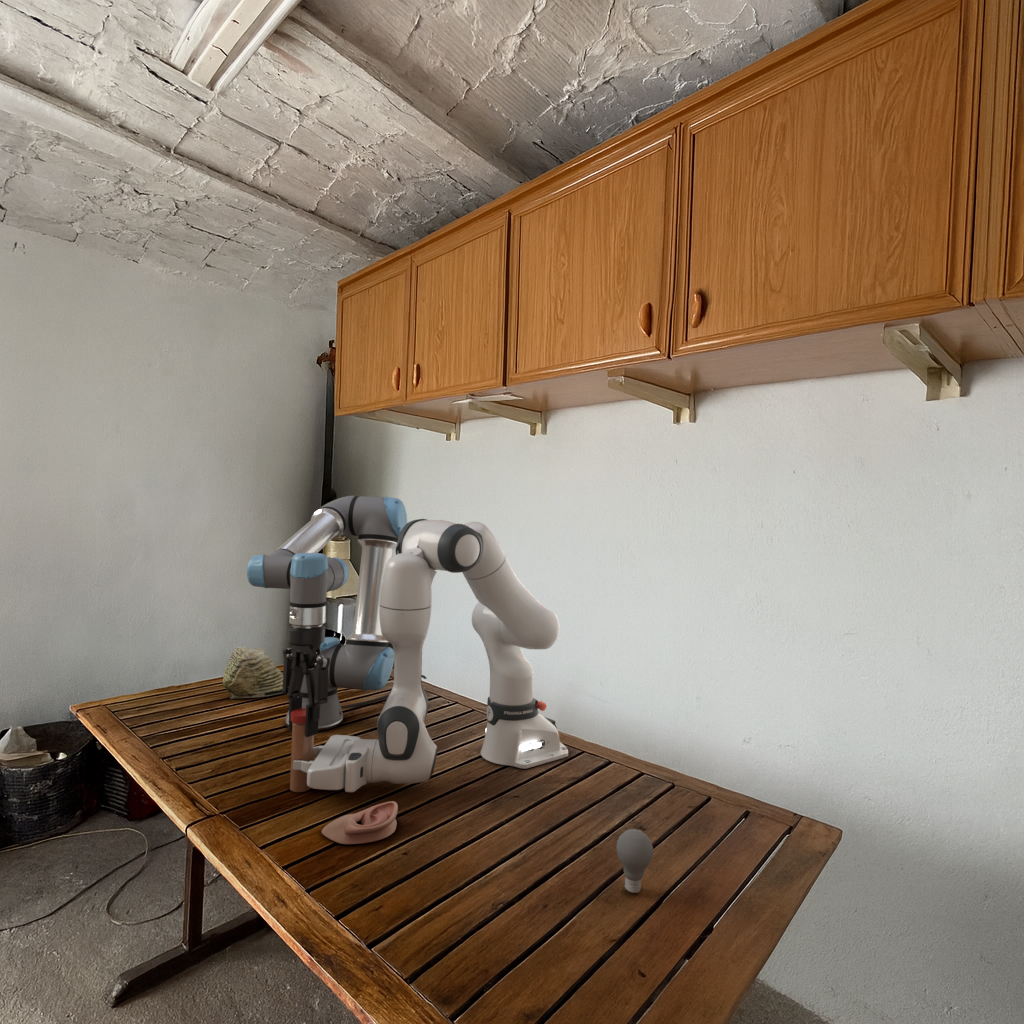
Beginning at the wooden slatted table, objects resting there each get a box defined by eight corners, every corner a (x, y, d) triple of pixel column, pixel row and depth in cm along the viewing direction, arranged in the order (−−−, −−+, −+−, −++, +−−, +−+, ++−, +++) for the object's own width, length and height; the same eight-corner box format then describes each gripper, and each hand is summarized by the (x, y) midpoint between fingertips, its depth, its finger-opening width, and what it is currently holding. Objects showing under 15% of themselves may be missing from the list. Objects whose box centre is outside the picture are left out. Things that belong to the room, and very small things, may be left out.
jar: (285, 787, 137) (288, 714, 137) (305, 780, 141) (307, 710, 141) (296, 794, 134) (299, 720, 134) (316, 787, 138) (318, 715, 137)
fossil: (218, 695, 195) (220, 647, 195) (278, 685, 208) (279, 640, 207) (228, 703, 189) (230, 653, 188) (289, 692, 201) (290, 645, 201)
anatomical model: (313, 818, 117) (342, 790, 128) (313, 839, 117) (341, 810, 128) (381, 829, 114) (404, 800, 125) (380, 850, 114) (403, 819, 125)
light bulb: (610, 879, 108) (613, 822, 108) (644, 879, 109) (647, 822, 109) (619, 902, 102) (622, 840, 102) (655, 901, 103) (658, 840, 103)
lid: (321, 716, 139) (321, 709, 139) (307, 724, 134) (308, 717, 134) (299, 713, 141) (299, 706, 141) (285, 721, 135) (285, 714, 135)
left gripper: (267, 620, 139) (263, 725, 140) (318, 634, 129) (314, 747, 129) (296, 616, 145) (292, 717, 146) (348, 629, 135) (344, 737, 135)
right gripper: (371, 728, 148) (312, 726, 148) (352, 765, 128) (283, 763, 127) (370, 755, 148) (311, 753, 148) (351, 796, 128) (281, 794, 127)
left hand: (303, 731), depth 137 cm, fingers closed on lid, 5 cm apart
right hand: (297, 758), depth 137 cm, fingers closed on jar, 4 cm apart
